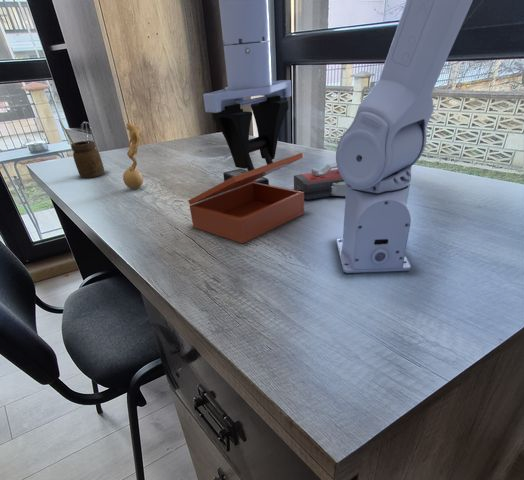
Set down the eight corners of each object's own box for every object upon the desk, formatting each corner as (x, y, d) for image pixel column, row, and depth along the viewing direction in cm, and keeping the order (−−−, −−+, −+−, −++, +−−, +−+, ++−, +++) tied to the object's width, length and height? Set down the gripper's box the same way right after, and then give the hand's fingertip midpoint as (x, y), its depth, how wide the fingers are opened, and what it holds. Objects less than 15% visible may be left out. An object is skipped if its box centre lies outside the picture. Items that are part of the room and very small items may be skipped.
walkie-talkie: (302, 205, 67) (406, 189, 70) (302, 178, 64) (410, 162, 67) (286, 191, 73) (382, 176, 77) (286, 166, 70) (385, 152, 74)
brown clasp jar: (107, 175, 92) (89, 117, 84) (79, 180, 90) (59, 121, 83) (103, 170, 96) (87, 114, 89) (77, 174, 94) (58, 118, 87)
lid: (303, 157, 58) (293, 124, 57) (235, 181, 50) (221, 144, 49) (253, 181, 68) (243, 153, 66) (189, 205, 60) (176, 174, 58)
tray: (304, 213, 64) (304, 191, 61) (242, 243, 56) (240, 220, 54) (254, 201, 70) (252, 181, 68) (193, 227, 62) (189, 205, 60)
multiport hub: (242, 179, 81) (241, 168, 80) (270, 191, 74) (269, 178, 73) (223, 184, 80) (222, 172, 78) (250, 196, 72) (249, 183, 71)
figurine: (123, 185, 84) (105, 122, 76) (150, 180, 86) (136, 118, 78) (129, 195, 78) (110, 128, 70) (158, 190, 80) (143, 123, 72)
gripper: (262, 42, 54) (268, 149, 62) (180, 49, 46) (199, 171, 54) (302, 38, 50) (303, 153, 58) (219, 46, 42) (234, 178, 50)
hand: (255, 162), depth 56 cm, fingers closed on lid, 5 cm apart
